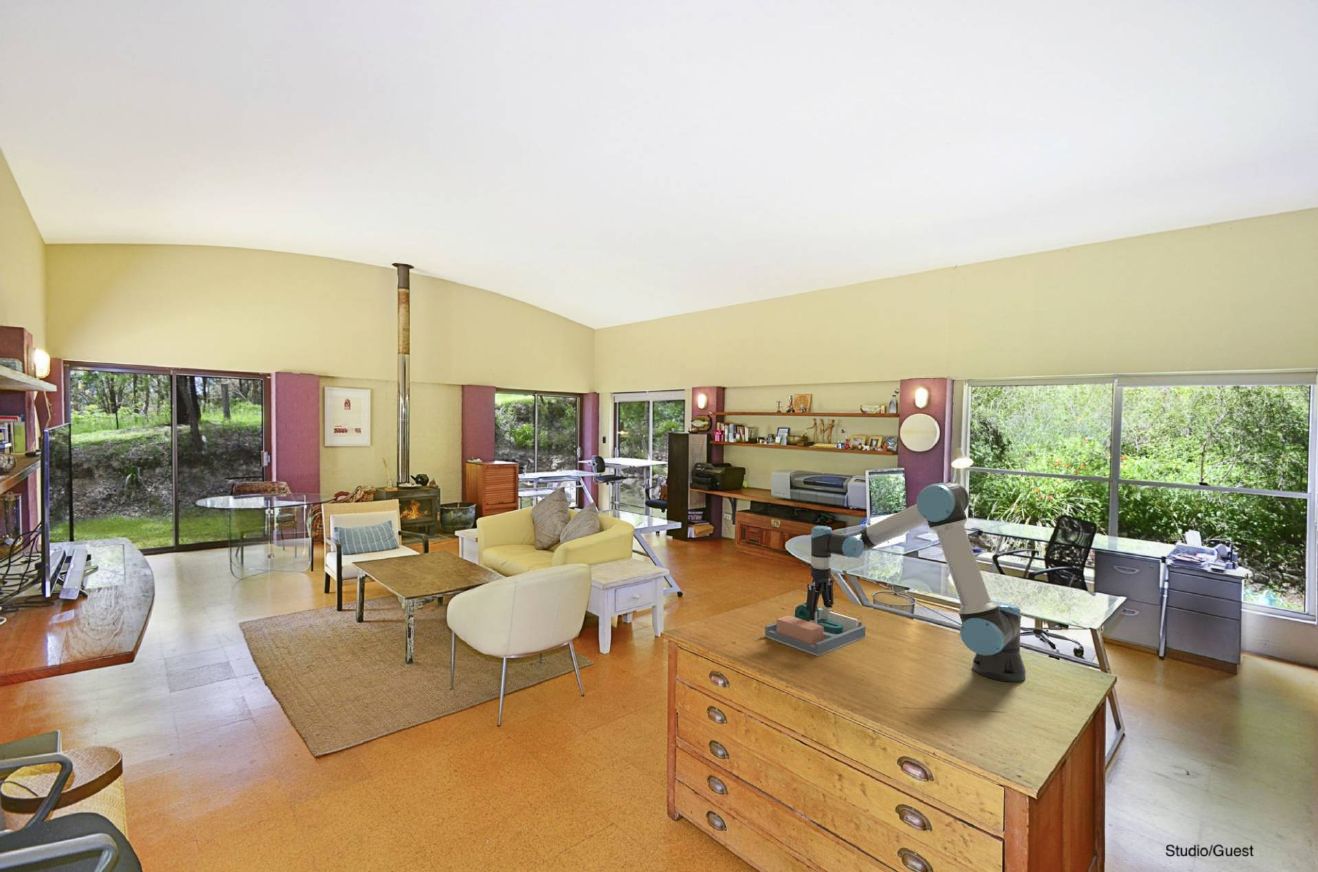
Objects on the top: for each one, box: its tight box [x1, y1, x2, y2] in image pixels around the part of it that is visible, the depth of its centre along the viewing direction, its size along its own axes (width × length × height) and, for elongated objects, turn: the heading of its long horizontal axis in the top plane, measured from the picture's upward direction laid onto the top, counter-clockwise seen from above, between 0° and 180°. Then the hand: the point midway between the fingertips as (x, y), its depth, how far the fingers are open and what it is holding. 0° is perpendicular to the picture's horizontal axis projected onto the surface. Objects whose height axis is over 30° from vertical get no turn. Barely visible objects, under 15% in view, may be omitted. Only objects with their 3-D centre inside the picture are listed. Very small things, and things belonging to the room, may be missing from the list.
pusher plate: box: [818, 607, 859, 632], centre depth 233 cm, size 1×20×6 cm, turn 40°
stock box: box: [776, 614, 824, 646], centre depth 219 cm, size 7×16×7 cm, turn 40°
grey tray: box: [764, 620, 866, 657], centre depth 225 cm, size 30×24×6 cm
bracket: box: [794, 601, 843, 634], centre depth 227 cm, size 18×7×8 cm, turn 47°
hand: (819, 625), depth 227 cm, fingers closed on bracket, 7 cm apart
